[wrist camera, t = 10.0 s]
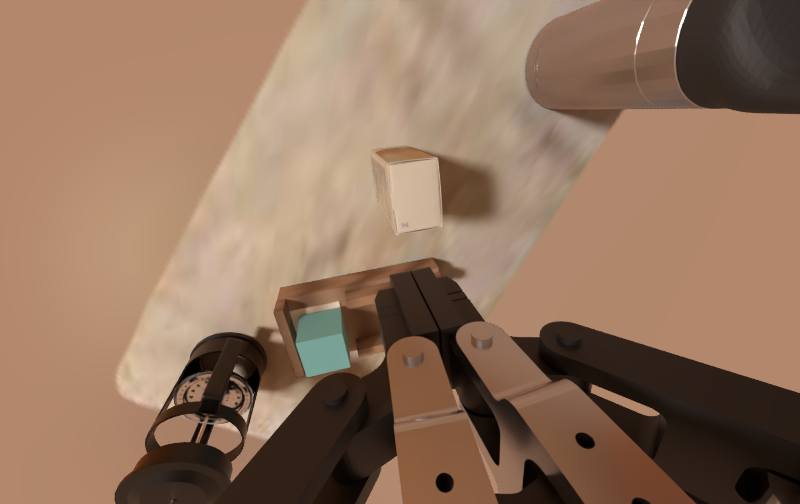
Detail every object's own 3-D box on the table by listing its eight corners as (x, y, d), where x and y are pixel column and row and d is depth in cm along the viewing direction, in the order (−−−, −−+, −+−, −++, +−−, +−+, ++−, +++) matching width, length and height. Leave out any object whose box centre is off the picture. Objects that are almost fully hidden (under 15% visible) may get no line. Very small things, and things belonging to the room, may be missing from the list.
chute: (431, 257, 42) (444, 276, 38) (436, 317, 47) (449, 341, 42) (280, 287, 40) (273, 312, 35) (300, 348, 44) (296, 377, 39)
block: (340, 307, 39) (342, 333, 34) (348, 339, 41) (350, 367, 36) (299, 316, 38) (295, 343, 34) (309, 347, 40) (306, 377, 36)
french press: (254, 394, 46) (194, 625, 25) (182, 383, 43) (45, 636, 22) (279, 331, 42) (232, 538, 22) (203, 314, 39) (62, 538, 19)
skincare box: (411, 196, 38) (444, 231, 28) (376, 202, 38) (395, 239, 27) (406, 141, 36) (440, 155, 25) (369, 147, 35) (386, 163, 24)
